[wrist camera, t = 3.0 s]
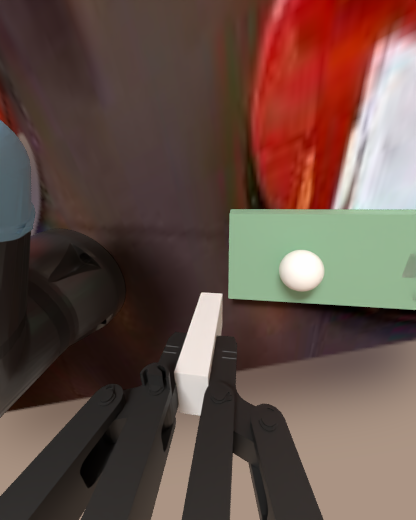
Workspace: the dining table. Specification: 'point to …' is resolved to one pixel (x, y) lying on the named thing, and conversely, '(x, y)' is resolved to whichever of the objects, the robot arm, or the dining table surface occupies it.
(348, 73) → the dining table surface
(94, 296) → the robot arm
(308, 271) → the ball
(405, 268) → the green flat block
